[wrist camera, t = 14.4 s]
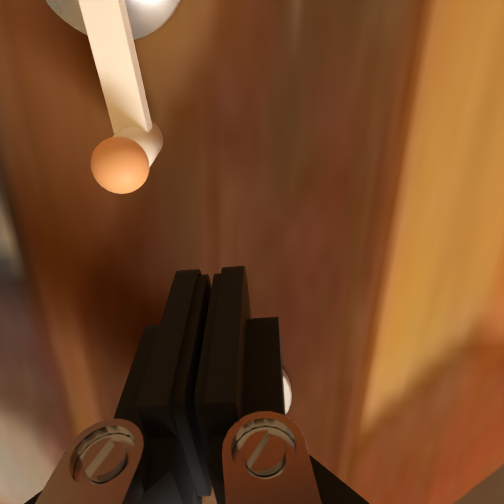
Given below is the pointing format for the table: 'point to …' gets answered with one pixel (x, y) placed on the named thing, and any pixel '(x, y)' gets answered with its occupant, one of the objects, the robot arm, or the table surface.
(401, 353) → the table surface
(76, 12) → the crank base
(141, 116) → the crank
